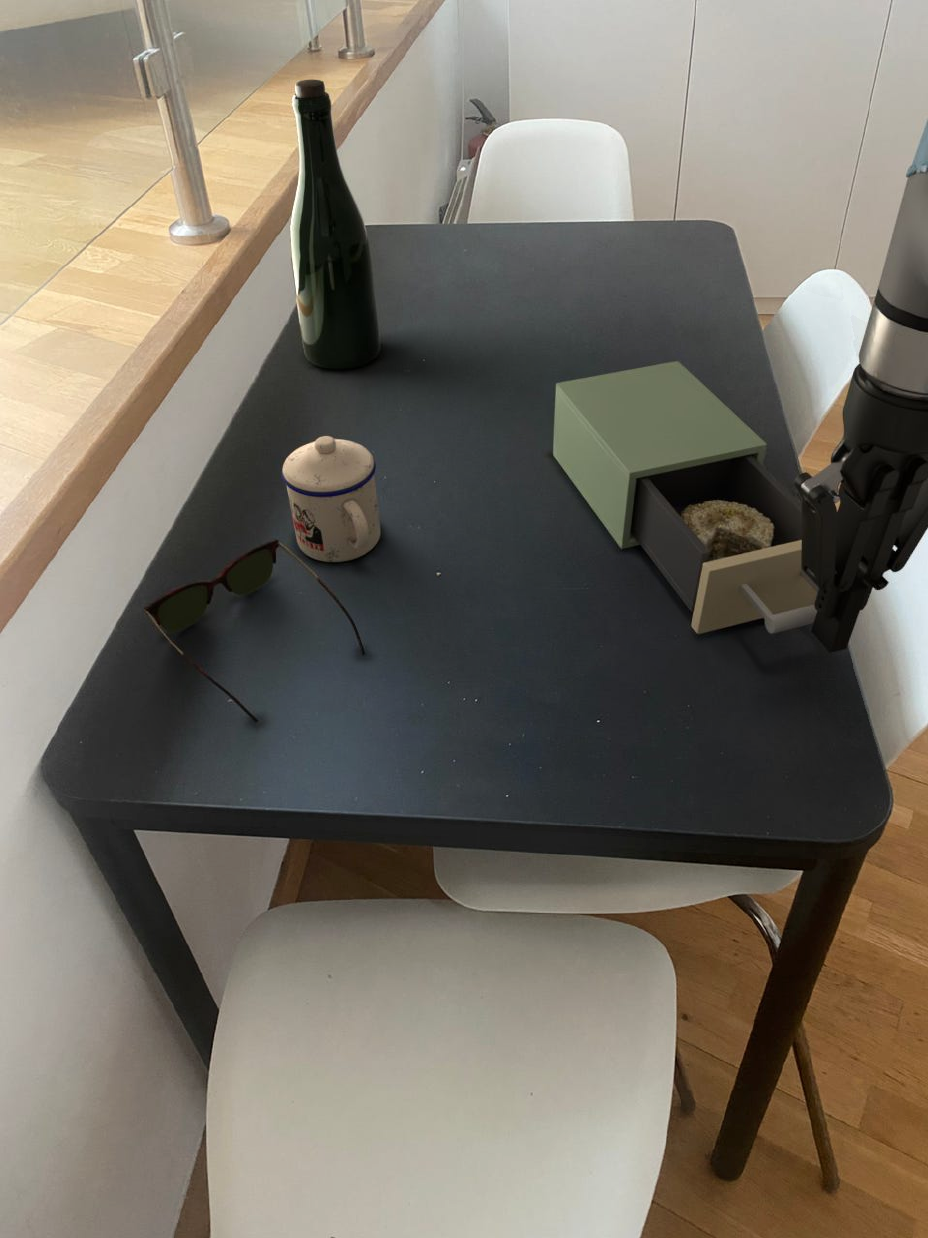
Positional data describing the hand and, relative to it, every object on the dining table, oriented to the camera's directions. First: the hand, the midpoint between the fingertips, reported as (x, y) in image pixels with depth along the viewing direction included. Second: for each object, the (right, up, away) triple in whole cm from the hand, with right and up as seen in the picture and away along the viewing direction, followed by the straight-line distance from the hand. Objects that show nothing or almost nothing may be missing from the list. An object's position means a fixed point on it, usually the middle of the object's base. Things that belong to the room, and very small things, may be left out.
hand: (828, 639), depth 74 cm
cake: (-5, +8, +14) cm, 17 cm away
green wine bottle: (-46, +38, +52) cm, 79 cm away
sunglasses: (-48, -1, +9) cm, 48 cm away
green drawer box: (-9, +16, +26) cm, 32 cm away
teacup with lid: (-42, +9, +20) cm, 47 cm away
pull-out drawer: (-4, +6, +13) cm, 15 cm away
